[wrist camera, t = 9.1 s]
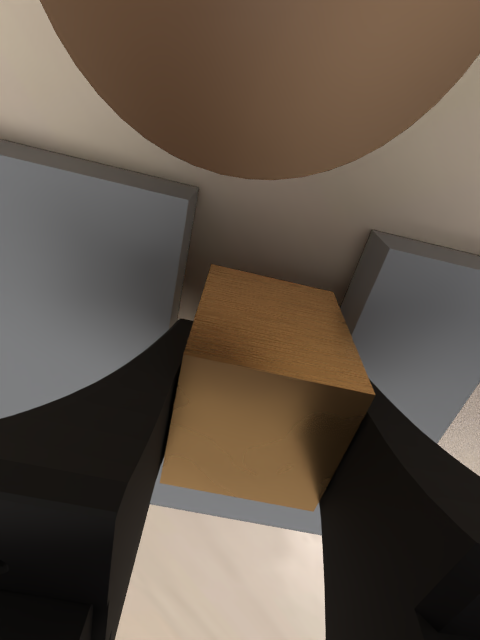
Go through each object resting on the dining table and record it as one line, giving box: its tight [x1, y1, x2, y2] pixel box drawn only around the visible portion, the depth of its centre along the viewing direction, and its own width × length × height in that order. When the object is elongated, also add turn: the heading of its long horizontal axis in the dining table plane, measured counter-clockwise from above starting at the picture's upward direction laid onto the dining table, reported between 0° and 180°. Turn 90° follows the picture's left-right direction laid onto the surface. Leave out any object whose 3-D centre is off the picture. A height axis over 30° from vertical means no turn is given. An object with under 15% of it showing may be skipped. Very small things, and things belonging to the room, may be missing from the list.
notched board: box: [0, 139, 480, 535], centre depth 15 cm, size 18×14×2 cm
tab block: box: [160, 264, 375, 512], centre depth 11 cm, size 4×4×5 cm
